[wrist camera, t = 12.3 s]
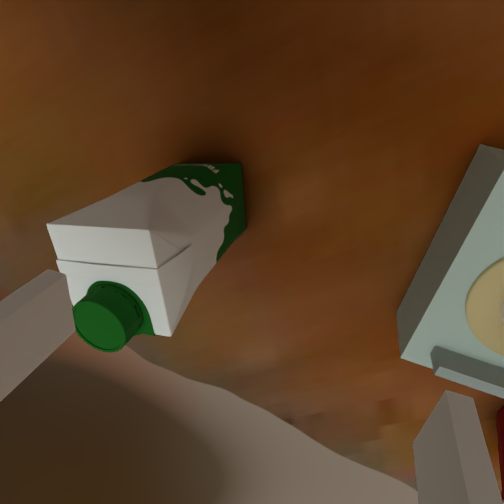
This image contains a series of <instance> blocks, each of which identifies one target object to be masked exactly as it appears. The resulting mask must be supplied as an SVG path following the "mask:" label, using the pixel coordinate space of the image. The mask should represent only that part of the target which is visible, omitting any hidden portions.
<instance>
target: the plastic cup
mask: <svg viewBox="0 0 504 504" xmlns="http://www.w3.org/2000/svg"><path fill="white" fill-rule="evenodd" d="M496 425H497V433H498V441H499V442H498V451H499V461H500V471H501V482H502V492H501V494H502V502H503V504H504V406H503V407H502V409H501V410H500V411H499V412H498V415H497V423H496Z"/></svg>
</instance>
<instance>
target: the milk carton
mask: <svg viewBox="0 0 504 504" xmlns="http://www.w3.org/2000/svg"><path fill="white" fill-rule="evenodd" d="M46 225H47V228H48V231H49V234H50V237H51V240H52V242H53V245H54V248H55V251H56V254H57V257H58V259H57V260H56V261H57V265H58V268H59V271H60V273H63V274H66V277H67V283H68V288H69V294H70V298H71V301H72V304H73V308H72V311H73V317H74V323H75V328H76V332H77V334H78V335H79V336H80V337H81V338H82V339H83V340H84V341H85V342H86V343H87V344H89V345H90V346H92V347H93V348H95V349H97V350H100V351H103V352H116V351H119V350H120V349H122V348H123V347H124V346H125V344H126V343H127V342H128V341H129V340H130V339H131V338H132V337H133V336H134V335H140V334H147V335H152V336H155V335H156V334H157V335H162V336H172V334H173V332H174V330H175V328H176V327H177V325H178V323H179V321H180V319H181V317H182V315H183V313H184V311H185V309H186V307H187V305H188V303H189V302H190V300H191V298H192V296H193V294H194V292H195V290H196V289H197V287H198V286H199V284H200V283H201V282H202V280H203V279H204V278H205V277H206V275H207V274H208V273H209V271H210V270H211V269H212V268H213V266H214V265H215V264H216V263H217V261H218V260H219V259H220V258H221V256H222V255H223V254H224V253H225V251H226V250H227V249H228V247H229V246H230V245H231V244H232V243H233V242H234V241H235V240H236V239H237V238H238V237H239V236H240V235H241V234H242V233H243V232H244V231H245V230H246V229H247V225H246V213H245V201H244V189H243V176H242V164H241V163H179V164H175V165H172V166H170V167H168V168H166V169H164V170H162V171H160V172H158V173H156V174H154V175H152V176H150V177H148V178H146V179H144V180H142V181H140V182H138V183H136V184H134V185H132V186H130V187H128V188H126V189H124V190H122V191H120V192H118V193H116V194H114V195H112V196H110V197H107V198H105V199H103V200H101V201H99V202H96V203H94V204H92V205H89V206H87V207H85V208H83V209H80V210H78V211H76V212H73V213H71V214H69V215H66V216H64V217H62V218H60V219H57V220H55V221H52V222H50V223H47V224H46Z"/></svg>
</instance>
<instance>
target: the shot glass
mask: <svg viewBox="0 0 504 504" xmlns="http://www.w3.org/2000/svg"><path fill="white" fill-rule="evenodd" d="M499 314H500V317H501V320H502V323H503V327H504V299H503V300H502V301H501V307H500V313H499Z"/></svg>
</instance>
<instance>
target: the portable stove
mask: <svg viewBox="0 0 504 504" xmlns="http://www.w3.org/2000/svg"><path fill="white" fill-rule="evenodd" d="M503 299H504V150H503V149H499V148H495V147H490V146H486V145H482V144H480V145H479V147H478V149H477V151H476V153H475V155H474V157H473V159H472V161H471V163H470V165H469V167H468V169H467V171H466V173H465V175H464V177H463V179H462V181H461V183H460V185H459V187H458V189H457V192H456V194H455V196H454V198H453V200H452V202H451V204H450V206H449V208H448V210H447V212H446V214H445V216H444V218H443V220H442V222H441V224H440V226H439V228H438V230H437V232H436V234H435V236H434V238H433V240H432V242H431V244H430V246H429V248H428V250H427V252H426V254H425V256H424V258H423V260H422V262H421V264H420V266H419V268H418V270H417V272H416V274H415V276H414V278H413V280H412V282H411V284H410V286H409V288H408V290H407V292H406V294H405V296H404V298H403V300H402V302H401V304H400V306H399V308H398V310H397V312H396V314H397V326H398V337H399V348H400V358H402V359H405V360H408V361H411V362H414V363H417V364H420V365H423V366H426V367H428V368H431V369H433V371H434V375H437V376H439V377H442V378H445V379H448V380H451V381H454V382H457V383H460V384H463V385H466V386H468V387H471V388H474V389H477V390H480V391H483V392H486V393H489V394H492V395H495V396H498V397H500V398H503V399H504V327H503V323H502V320H501V317H500V314H499V313H500V307H501V301H502V300H503Z"/></svg>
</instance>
